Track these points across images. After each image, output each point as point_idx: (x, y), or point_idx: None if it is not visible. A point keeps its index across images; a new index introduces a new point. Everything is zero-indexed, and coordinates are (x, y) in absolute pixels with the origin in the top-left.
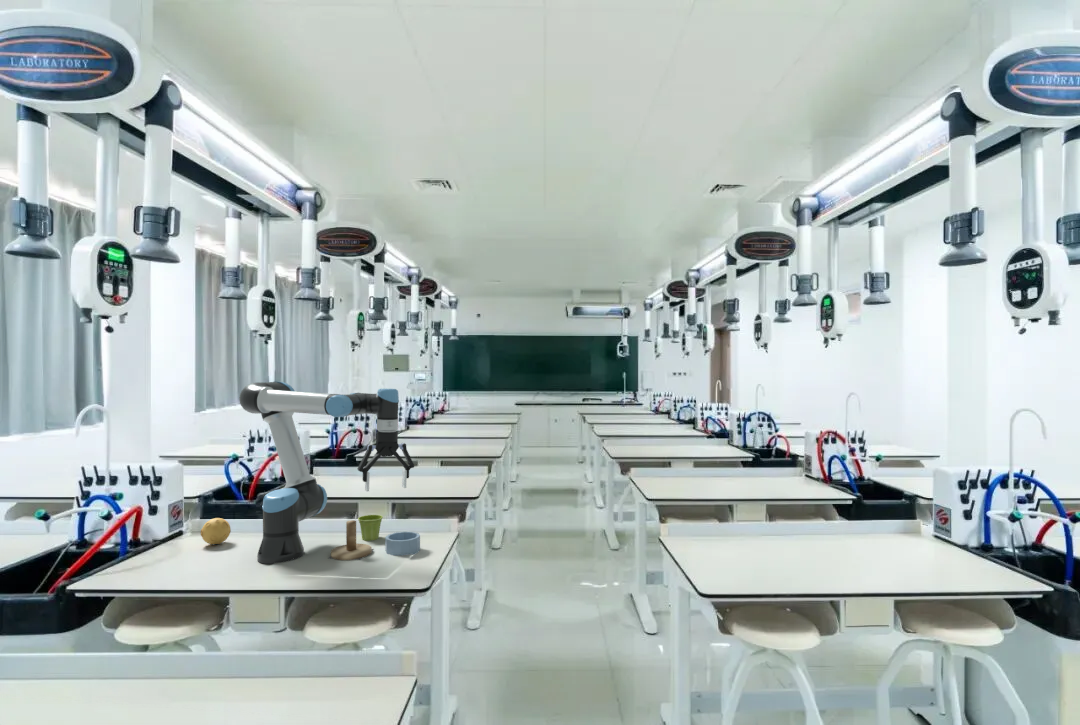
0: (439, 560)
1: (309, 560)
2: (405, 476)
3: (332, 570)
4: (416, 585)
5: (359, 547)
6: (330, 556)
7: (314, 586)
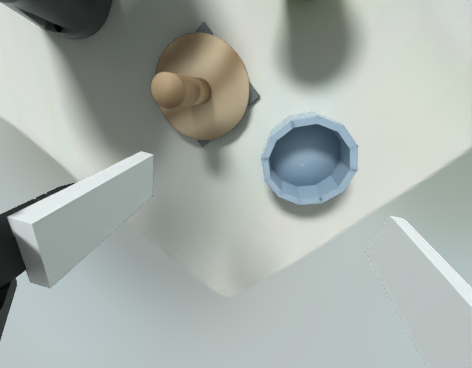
0: (314, 248)
1: (119, 59)
2: (415, 334)
3: None
4: (223, 291)
5: (221, 89)
6: None
7: None
